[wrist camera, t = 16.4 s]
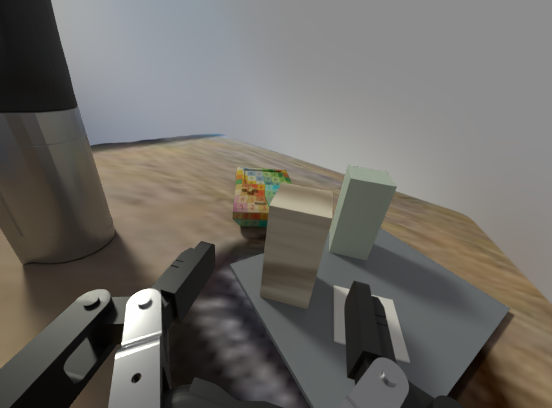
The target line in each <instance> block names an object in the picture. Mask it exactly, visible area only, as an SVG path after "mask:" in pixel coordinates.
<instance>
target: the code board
mask: <svg viewBox="0 0 552 408" xmlns="http://www.w3.org/2000/svg"><path fill="white" fill-rule="evenodd" d="M329 236H330V231H329V232H328V236H327V239H326V243H325V247H324V250H323V254H322V258H321V261H320V265H319V269H318V272H317V276H316V279H315V283H314V287H313V290H312V294H311V298H310V301H309V305H308V309H304V308H300V307H296V306H293V305H289V304H286V303H282V302H278V301H275V300H271V299H267V298H264V297H260V288H261V279H262V269H263V260H264V253H263V254H260V255H257V256H254V257H251V258H248V259H245V260H242V261H239V262H236V263H233V264H230V268H231V270H232V272H233V273H234V275H235V277H236V279H237V280H238V282H239V284H240V286H241V287H242V289H243V291H244V293H245V294H246V296H247V298H248V300H249V301H250V303H251V305H252V307H253V308H254V310H255V312H256V314H257V315H258V317H259V319H260V321H261V322H262V324H263V326H264V328H265V329H266V331H267V333H268V334H269V336H270V338H271V340H272V341H273V343H274V345H275V347H276V348H277V350H278V352H279V354H280V355H281V357H282V359H283V361H284V362H285V364H286V366H287V368H288V369H289V371H290V373H291V375H292V376H293V378H294V380H295V382H296V383H297V385H298V387H299V389H300V390H301V392H302V394H303V396H304V397H305V399H306V401H307V403H308V404H309V406H310V408H338V407H339V406H340V404H341V403H342V402H343V400H344V399H345V398H346V397H347V396H348V395H349V393H350V392H351V391H352V389H353V388H354V387H355V380H353V379H350V378H347V365H346V341H345V318H344V305H345V300H346V297H347V295H348V293H349V290H350V288H351V286H352V283H353V281H358V282H362V283H366V284H369V285H370V290H371V296H375V297H378V298H379V300H380V301H381V303H382V304H383V306H384V308H385V313H386V319H387V322H388V328H389V331H390V336H391V340H392V345H393V349H394V354H395V358H396V362H397V364H398V366H399V367H400V368H401V369H402V371H403V372H404V374H405V375H406V377H407V379H408V380H409V381H410V382H411V383H412V384H414V385H415V386H417V387H418V388H420V389H421V390H423V391H424V392H426V393H427V394H429V395H431V396H432V397H434V398H436V397H437V396H440V395H445V396H447V395H448V393H449V392H450V390H451V389H452V388H453V386H454V385H455V384H456V382H457V381H458V379H459V378H460V377H461V375H462V374H463V373H464V371H465V370H466V369H467V367H468V366H469V364H470V363H471V362H472V360H473V359H474V358H475V356H476V355H477V353H478V352H479V351H480V349H481V348H482V347H483V345H484V344H485V343H486V341H487V340H488V338H489V337H490V336H491V334H492V333H493V332H494V330H495V329H496V327H497V326H498V325H499V323H500V322H501V321H502V319H503V318H504V317H505V315H506V314H507V312H508V311H509V310H510V308H509V307H507V306H505V305H504V304H502V303H500V302H499V301H497V300H496V299H494V298H492V297H491V296H489V295H488V294H486V293H484V292H483V291H481V290H480V289H478V288H476V287H475V286H473V285H472V284H470V283H468V282H467V281H465V280H464V279H462V278H460V277H459V276H457V275H456V274H454V273H452V272H451V271H449V270H447V269H446V268H444V267H443V266H441V265H439V264H438V263H436V262H435V261H433V260H431V259H430V258H428V257H427V256H425V255H423V254H422V253H420V252H419V251H417V250H415V249H414V248H412V247H411V246H409V245H407V244H406V243H404V242H403V241H401V240H399V239H398V238H396V237H394V236H393V235H391V234H390V233H388V232H386V231H385V230H383V229H382V228H380V229H379V232H378V234H377V236H376V239H375V241H374V244H373V246H372V249H371V251H370V254H369V256H368V259H367V261H366V260H362V259H357V258H353V257H349V256H344V255H340V254H336V253H331V252H329Z"/></svg>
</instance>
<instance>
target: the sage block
mask: <svg viewBox="0 0 552 408" xmlns="http://www.w3.org/2000/svg"><path fill="white" fill-rule="evenodd" d="M396 187H397V186H396V185H395V183H394V182H393V180H392V178H391V177H390V175H389V174H388V172H386V171H380V170H374V169H368V168H362V167H357V166H351V165H348V167H347V170H346V174H345V178H344V181H343V185H342V188H341V192H340V196H339V199H338V203H337V207H336V210H335V214H334V217H333V221H332V225H331V228H330V236H329V252H331V253H336V254H340V255H344V256H349V257H353V258H357V259H362V260H366V261H367V259H368V256H369V254H370V251H371V249H372V246H373V244H374V241H375V239H376V236H377V234H378V232H379V229H380V227H381V224H382V222H383V219H384V217H385V214H386V212H387V209H388V207H389V205H390V202H391V200H392V197H393V195H394V192H395V190H396Z"/></svg>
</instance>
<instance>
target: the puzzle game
mask: <svg viewBox="0 0 552 408" xmlns="http://www.w3.org/2000/svg"><path fill="white" fill-rule="evenodd" d="M282 182H283V183H288V184H292V183H291V181H290V178H289V176H288V174H287V172H286V170H274V169H257V168H240V167H237V175H236V185H235V196H234V207H233V219H234V221H235V222H236V223H238V224H239V225H240V226H253V227H267V222H268V213H269V205H270V203H271V201H272V199H273V198H274V196H275V194H276V192H277V190H278V189H279V187H280V185H281V183H282Z"/></svg>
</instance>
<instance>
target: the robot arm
mask: <svg viewBox="0 0 552 408" xmlns="http://www.w3.org/2000/svg"><path fill="white" fill-rule="evenodd" d="M0 228H1V230H2V232H3V233H4V235H5V237H6V238H7V240H8V242H9V243H10V245H11V247H12V248H13V250H14V252H15V253H16V255H17V257H18V258H19V260H20V262H21V263H22V264H26V263H30V262H40V263H60V262H66V261H71V260H75V259H78V258H81V257H84V256H87V255H89V254H91V253H94V252H95V251H97V250H99V249H101V248H102V247H104V246H105V245H106V244H108V243H109V242H110V241H111V240H112V238H113V237H114V235H115V228H114V225H113V220H112V217H111V214H110V211H109V208H108V204H107V201H106V198H105V194H104V191H103V188H102V184H101V181H100V178H99V174H98V171H97V168H96V164H95V161H94V158H93V154H92V151H91V148H90V144H89V141H88V138H87V134H86V131H85V128H84V124H83V121H82V118H81V114H80V111H79V108H78V106H77V101H76V98H75V95H74V91H73V87H72V83H71V78H70V74H69V70H68V66H67V63H66V59H65V56H64V52H63V49H62V45H61V41H60V37H59V33H58V29H57V25H56V21H55V16H54V12H53V8H52V3H51V0H0ZM214 268H215V245H214V244H211V243H207V242H203V241H201V242H200V243H199V244H198V245H197V246H196V247H195V249H194V248H189V249H187V250H186V251H184V252H182V253H181V254H180V255H179V256H178V258H177V259H176V261H174V262H173V263H172V264H171V266H169V268H168V269H167V270H166V271H165V272H164V273H163V274H162V275H161V277H160V278H159V279H158V280H157V281H156V282H155V283H154V284H153V285H152V287H151V288H149V289H145V290H141V291H139V292H137V293H136V294H134V295H133V296H131V297H111V295H110V293H109V292H108V291H107V290H104V289H97V290H92V291H90V292H87V293H85V294H83V295H82V296H80V297H79V298H78V299H77V300H76V301H75V302H74V303H72V304H71V305H70V306H69V307H68V308H67V309H66V310H65V311H64V312H63V313H61V314H60V315H59V316H58V317H57V318H56V319H55V320H54V321H53V322H51V323H50V324H49V325H48V326H47V327H46V328H45V329H44V330H43V331H42V332H40V333H39V334H38V335H37V336H36V337H35V338H34V339H33V340H32V341H31V342H29V343H28V344H27V345H26V346H25V347H24V348H23V349H22V350H21V351H20V352H18V353H17V354H16V355H15V356H14V357H13V358H12V359H11V360H10V361H9V362H7V363H6V364H5V365H4V366H3V367H2V368H1V369H0V408H69V407H70V405H71V404H72V403H73V401H74V400H75V399H76V398H77V396H78V395H79V394H80V392H81V391H82V390H83V388H84V387H85V386H86V384H87V383H88V382H89V380H90V379H91V378H92V377H93V375H94V374H95V373H96V371H97V370H98V369H99V367H100V366H101V365H102V363H103V362H104V361H105V360H106V358H107V357H108V356H109V354H110V353H111V352H112V350H113V349H114V348H115V346H116V345H117V344H122V345H121V348H119V349H118V350H117V352H116V356H115V362H114V369H113V376H112V383H111V390H110V397H109V404H108V408H282V407H280V406H277V405H274V404H271V403H268V402H265V401H237V400H236V399H235V398H233V397H232V396H231V395H229V394H228V393H227V392H226V391H224V390H223V389H222V388H221V387H219V386H218V385H216V384H214V383H211V382H208V381H205V380H202V379H199V378H196V377H195V378H194V380H193V382H192V384H187V385H181V386H178V387H175V388H172V382H171V373H170V358H169V333H168V328H169V327H170V325H171V324H172V322H175V323H178V324H180V323H181V321H182V320H183V318H184V317H185V315H186V313H187V312H188V310H189V309H190V307H191V306H192V304H193V303H194V301H195V299H196V298H197V296H198V295H199V293H200V292H201V290H202V288H203V287H204V285H205V284H206V282H207V281H208V279H209V278H210V276H211V274H212V273H213V270H214ZM344 318H345V341H346V365H347V378H350V379H353V380H355V387H354V388H353V389H352V391H351V392H350V393H349V395H348V396H347V397H346V398H345V399H344V400H343V402H342V403H341V404H340V406H339V407H338V408H464V407H463V406H462V405H461V404H460V403H458V402H457V401H456V400H454V399H452V398H450V397H448V396H445V395H440V396H437V397H436V398H434V397H432V396H431V395H429V394H427V393H426V392H424V391H423V390H421V389H420V388H418V387H417V386H415V385H414V384H412V383H411V382H410V381H409V380H408V379H407V377H406V375H405V374H404V372H403V371H402V369H401V368H400V367H399V366H398V364H397V362H396V358H395V354H394V349H393V345H392V340H391V336H390V331H389V328H388V322H387V319H386V313H385V308H384V306H383V304H382V303H381V301H380V300H379V298H378V297H375V296H371V290H370V285H369V284H366V283H362V282H358V281H353V283H352V286H351V288H350V290H349V293H348V295H347V297H346V300H345V305H344Z"/></svg>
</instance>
